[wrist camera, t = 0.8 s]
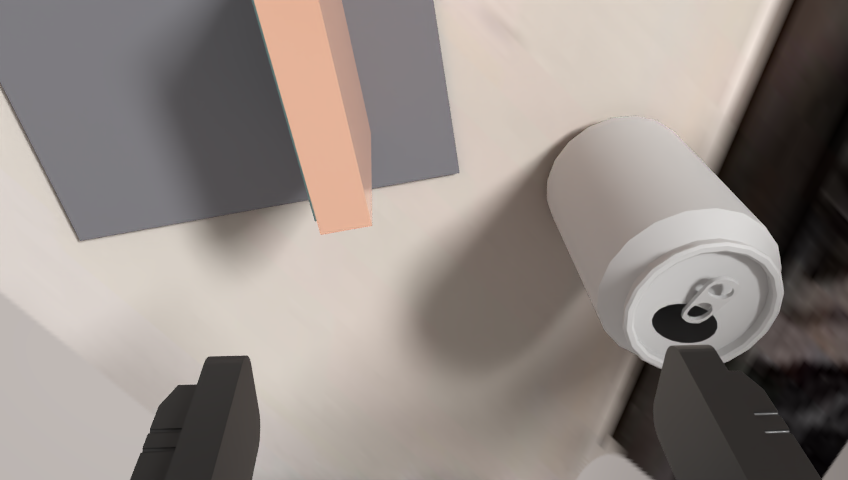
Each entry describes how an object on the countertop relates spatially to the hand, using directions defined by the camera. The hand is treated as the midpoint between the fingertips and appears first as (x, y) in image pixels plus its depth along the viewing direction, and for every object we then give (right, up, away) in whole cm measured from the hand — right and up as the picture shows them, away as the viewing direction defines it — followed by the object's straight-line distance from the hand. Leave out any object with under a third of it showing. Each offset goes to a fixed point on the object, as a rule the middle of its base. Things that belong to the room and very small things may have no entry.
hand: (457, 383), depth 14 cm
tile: (-5, +12, +18) cm, 22 cm away
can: (+9, +6, +24) cm, 26 cm away
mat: (-10, +11, +19) cm, 24 cm away
